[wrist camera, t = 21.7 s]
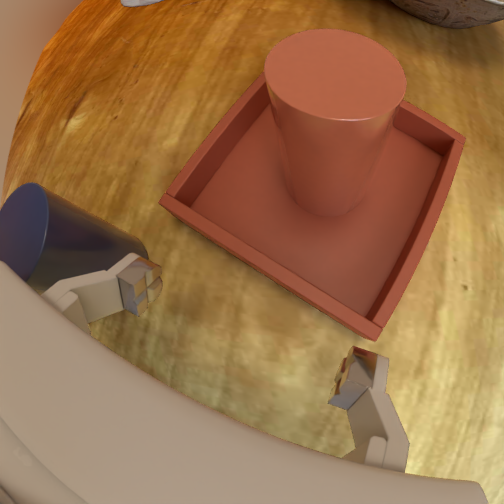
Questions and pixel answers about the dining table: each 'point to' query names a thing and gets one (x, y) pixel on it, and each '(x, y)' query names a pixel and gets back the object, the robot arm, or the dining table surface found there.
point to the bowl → (454, 11)
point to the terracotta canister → (332, 114)
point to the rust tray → (313, 226)
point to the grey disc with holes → (137, 2)
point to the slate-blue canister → (57, 238)
